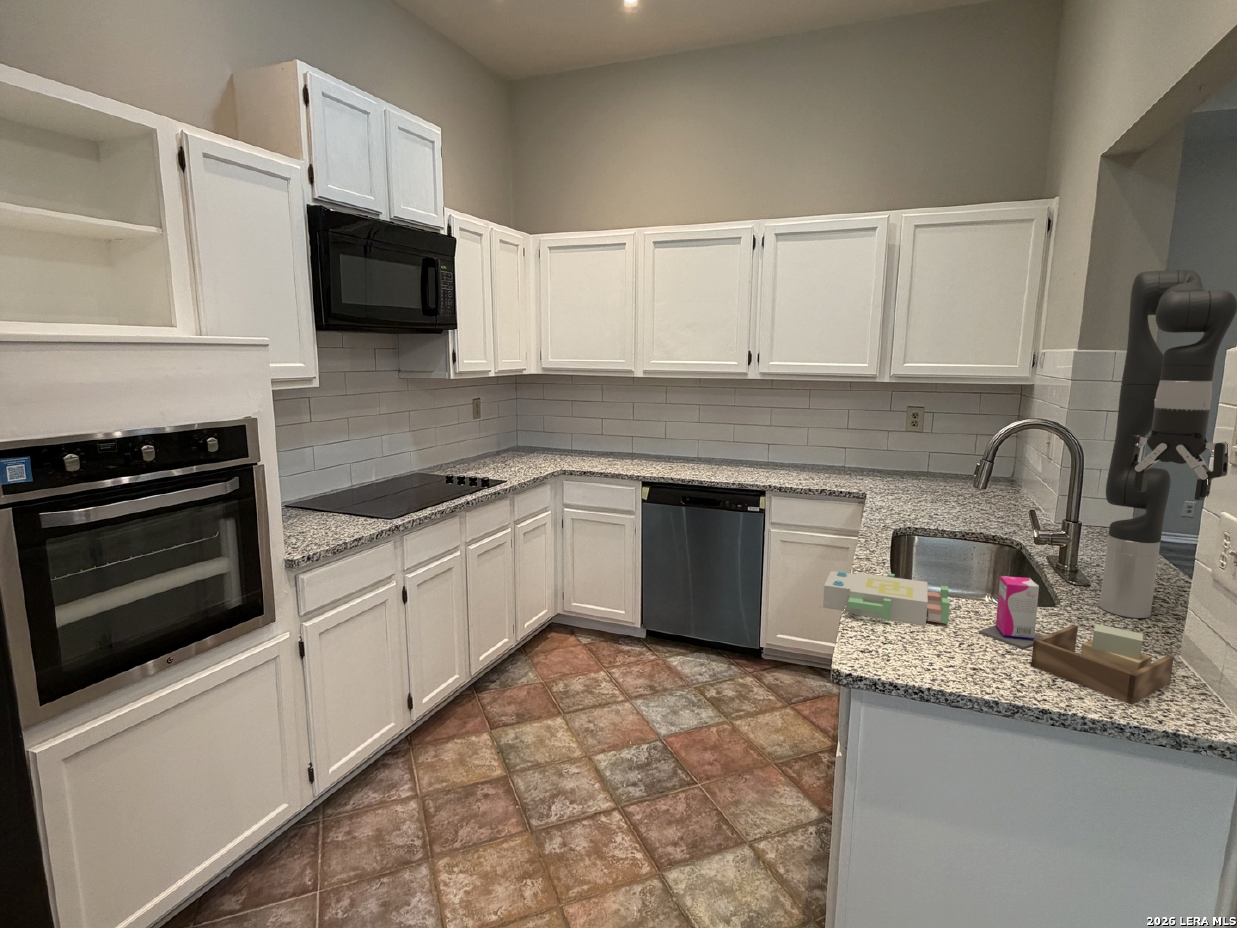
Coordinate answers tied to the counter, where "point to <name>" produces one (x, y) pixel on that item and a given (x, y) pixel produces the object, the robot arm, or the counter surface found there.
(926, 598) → the decorative block
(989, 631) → the mat
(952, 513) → the counter surface
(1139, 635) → the offcut top
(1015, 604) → the supplement box
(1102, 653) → the offcut low
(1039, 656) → the rack
